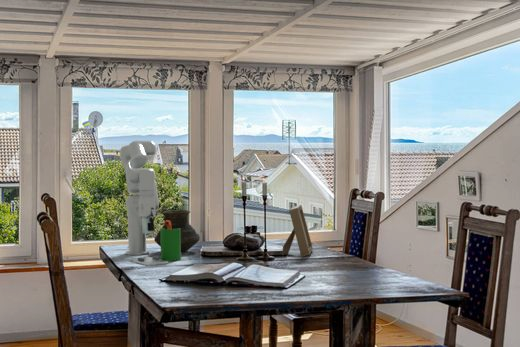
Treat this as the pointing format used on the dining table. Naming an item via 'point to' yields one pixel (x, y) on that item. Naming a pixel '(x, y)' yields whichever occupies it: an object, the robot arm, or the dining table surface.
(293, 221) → the photo frame
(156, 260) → the clip bracket
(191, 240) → the ceramic pot
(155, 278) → the dining table surface
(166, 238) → the motor
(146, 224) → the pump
